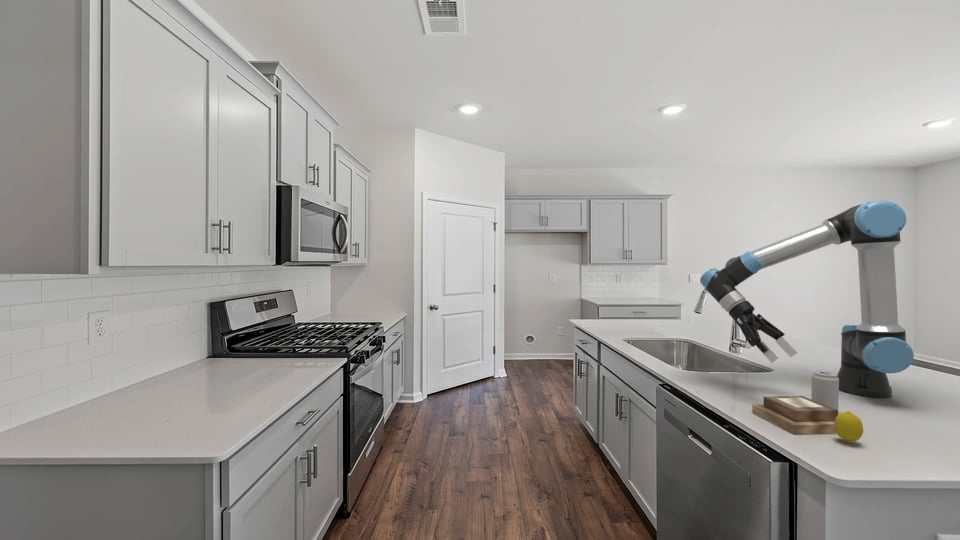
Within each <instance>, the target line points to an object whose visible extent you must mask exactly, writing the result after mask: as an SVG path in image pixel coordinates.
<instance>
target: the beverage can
mask: <svg viewBox="0 0 960 540" xmlns="http://www.w3.org/2000/svg"><path fill="white" fill-rule="evenodd" d="M837 376H838V373H835V372H831V371H826V370H822V371H821V370H814V371H813V374H812V375H811V398H810V399H811V400H814V401H816V402H819V403H821V404H824V405H826V406H829V407H831V408H834V409H836V410H838V411H839V396H840V395H839V394H840V390H839V378H838V377H837Z"/></svg>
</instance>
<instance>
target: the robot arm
mask: <svg viewBox="0 0 960 540" xmlns="http://www.w3.org/2000/svg"><path fill="white" fill-rule="evenodd" d="M906 224H907V215H906V212H905V211H904V209H903V208H902V207H901V206H900V205H898V204H897V203H895V202H893V201H889V200H871V201H867V202H864V203H862V204H858V205H854V206H852V207H850V208H848V209H846V210H844V211H842V212H840V213H838V214H837V215H834V216H832V217H829V218H827V219H824V220H823V221H822V224H820V225H817V226H814V227H812V228H809V229H806V230H804V231H801V232H799V233H796V234H794V235H791V236H788V237H785V238H782V239H779V240H777V241H775V242H773V243H770V244H767V245H764V246H761V247H759V248H756V249H753V250H752V251H746V252H744V253H743V254H741V255H739V256H736V257H735V256H734V257H732V258H730V259H729V260H727V261H726V263H725V267H723V268H722V269H720V270H719V269H717V268H716V267H715V268H711V269H709V270H707V271H705V272H704V273H703V274H702V275H701V276H700V278H699V282H700V284H701V285H702V286H703V287H704V289H705V290H706V291H707V292H708V293H709V294H710V295H711V297H713V299H714V300H715V301H716V302H717V303H719V305H720V306H721V308H722V309H723V310H724V311H725V312H727V313H728V315H729V316H730V317H731V318H732V320H733V321H735V323H736V324H737V325H738V327H739V329H740V330H741V333H742V334H743V336H744V338H745V339H746V341H747V343H748V344H749V345H750V346H751V347H753V348H754V347H755V346H756V348H757V349H758V350H759V351H760V352H761V353H762V354H763V356H765V357H766V359H768V361H769V362H770V363H771V364H772V363H774V362H775V361H777V360H779V359H780V356H778V354H777V353H776V352H775V351H774V350H773V349H772V348H771V347H770V345H768V344H767V342H766V341H764V340H762V338H761V336H760V334H759V331H761V332H763V333H764V334H765V335H767V336H769V337H770V338H772V339H774V340H775V343H776V344H777V345H778V346H779V347H780V348H781V349H782V350H783V351H784V352H785V353H786V354H787V356H788V357H789V358H792V357H793V356H796V355H797V354H798V353H799V352H798V350H797V349H795V347H794V346H793V345H792V344H791V343H790V342H789V341H787V339H786V338H785V337H784V336H785V335H786V334H785V333H784V332H783V331H782V330H780V329H779V328H778V327H777V326H775V325H774V324H772V323H771V322H770V321H769V320H768V319H765V317H763V316H762V315H761V314H760V313H758V314H755V313H754V311H755V307H754V306H753V304H752V303H751V302H750V301H748V300H746V297H745V296H744V295H743V294H742V293H741V292H740V291H739V289H737V288H736V287H738V286H739V285H741V283H743V282H745V281H746V280H747V279H749V278H751V277H752V276H754V275H755V274H757V273H758V272H759V271H760V270H763V269H766V268H769V267H773V266H775V265H777V264H780V263H783V262H785V261H788V260H792V259H794V258H797V257H799V256H803V255H805V254H809V253H810V252H813V251H815V250H816V251H817V250H820V249H821V248H825V247H827V246H830V245H832V244H834V245H837V246H838V245H841V244H844V243H848V242H850V244H851V246H852V247H853V248H855V249H856V250H857V262H858V265H857V266H858V278H859V279H858V280H859V281H858V282H859V298H860V299H859V300H860V313H861V314H860V315H861V316H860V317H861V323H859V324H857V325H855V324H854V325H851V324H846V325H843V326H842V328H841V329H842V330H841V333H840V336H841V343H840V344H841V351H840V352H841V353H840V355H841V358H840V360H841V361H840V368H839V369H838V372H837V375H838V376H837V377H838V378H839V391H841V392H843V393H844V392H845V393H848V394H852V395H857V396H862V397H863V396H864V397H869V398H871V397H872V398H890V397H892V396H893V389H892V386H890V382H889V378H888V376H887V374H897V373H901V372H903V371H906V369H908V368H909V367H910V366H911V365H912V364H913V362H914V358H915V353H914V349H913V348H912V346H911V345H910V344H909V343H908V342H907V333H906V329H905V328H904V327H903V326H901V325H900V324H899V315H898V295H897V279H896V278H897V277H896V260H895V257H896V256H895V247H897V246H898V245H899V244H900V243H901V232H902V230H903V229H904V227H905V225H906Z"/></svg>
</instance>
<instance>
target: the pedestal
mask: <svg viewBox="0 0 960 540" xmlns="http://www.w3.org/2000/svg"><path fill="white" fill-rule="evenodd" d="M751 413H752V414H753V415H756V416H758V417H760V418H761V419H764V420H765V421H767V422H769V423H771V424H773V425H775V426H777V427H779V428H781V429H783V430H784V431H787V432H788V433H790V434H791V435H831V434H835V435H836V434H837V433H836V431H835V428H834V422H835V419H836V417H837V415H839V409H838V410H836V409H834V408H831V407H829V406H826V405H824V404H821V403H819V402H816V401H814V400H811V398H809V397H806V396H804V395H786V396H785V395H784V396H783V395H781V396H779V395H777V396H776V395H775V396H771V395H770V396H763V403H758V404H757V403H756V404H755V403H754V404H752V406H751ZM837 435H838V434H837Z"/></svg>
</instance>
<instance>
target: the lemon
mask: <svg viewBox="0 0 960 540" xmlns="http://www.w3.org/2000/svg"><path fill="white" fill-rule="evenodd" d="M863 425H864V424H863V422H862V421H861V418H859V416H857V415H856V414H854V413H852V411H844V412H840V413H838V415H837V417H836V419H835V422H834V428H835V431H836V433H837V436H838V437H839V438H841V440H844V441H845V443H848V444H850V443H852V442H856V441H859V440H860V439H861V438H862V436H863V433H864V426H863Z"/></svg>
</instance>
